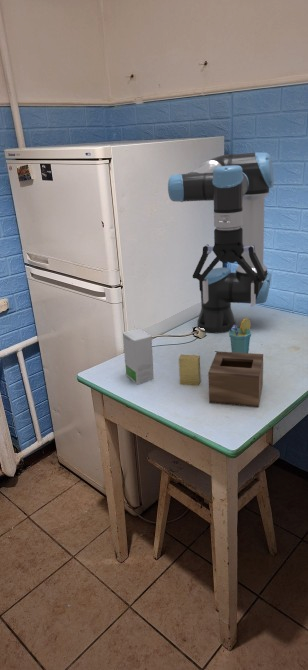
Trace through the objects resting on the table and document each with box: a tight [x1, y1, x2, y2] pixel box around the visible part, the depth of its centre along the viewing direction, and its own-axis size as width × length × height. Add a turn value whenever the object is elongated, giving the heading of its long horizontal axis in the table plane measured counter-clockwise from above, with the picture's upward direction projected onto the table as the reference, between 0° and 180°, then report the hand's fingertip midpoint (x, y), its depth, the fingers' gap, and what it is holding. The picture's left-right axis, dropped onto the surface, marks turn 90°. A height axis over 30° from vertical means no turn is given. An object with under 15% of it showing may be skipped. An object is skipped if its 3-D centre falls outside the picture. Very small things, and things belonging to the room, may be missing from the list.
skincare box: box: [122, 327, 154, 385], centre depth 151 cm, size 8×7×16 cm
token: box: [178, 354, 202, 387], centre depth 146 cm, size 3×6×9 cm, turn 73°
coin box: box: [207, 351, 264, 408], centre depth 138 cm, size 14×14×10 cm
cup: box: [228, 318, 252, 353], centre depth 156 cm, size 14×8×15 cm, turn 150°
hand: (229, 303), depth 133 cm, fingers open, 13 cm apart
